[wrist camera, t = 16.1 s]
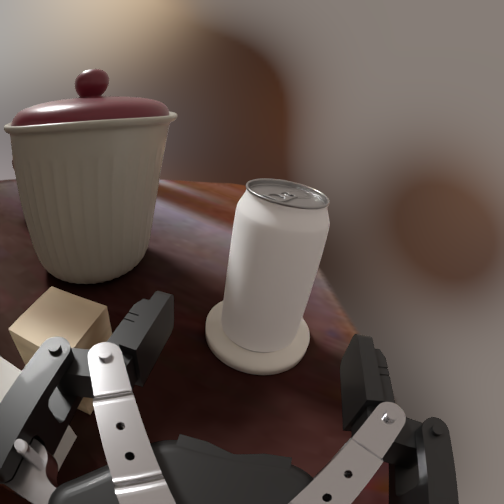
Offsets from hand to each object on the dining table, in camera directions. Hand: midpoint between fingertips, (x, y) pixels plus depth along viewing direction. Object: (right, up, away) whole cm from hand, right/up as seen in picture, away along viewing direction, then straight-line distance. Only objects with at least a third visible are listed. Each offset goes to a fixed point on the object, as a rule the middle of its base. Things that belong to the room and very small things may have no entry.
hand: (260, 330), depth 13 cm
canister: (-19, +2, +19) cm, 27 cm away
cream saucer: (0, -4, +13) cm, 14 cm away
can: (0, -3, +13) cm, 13 cm away
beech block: (-13, -6, +5) cm, 15 cm away
